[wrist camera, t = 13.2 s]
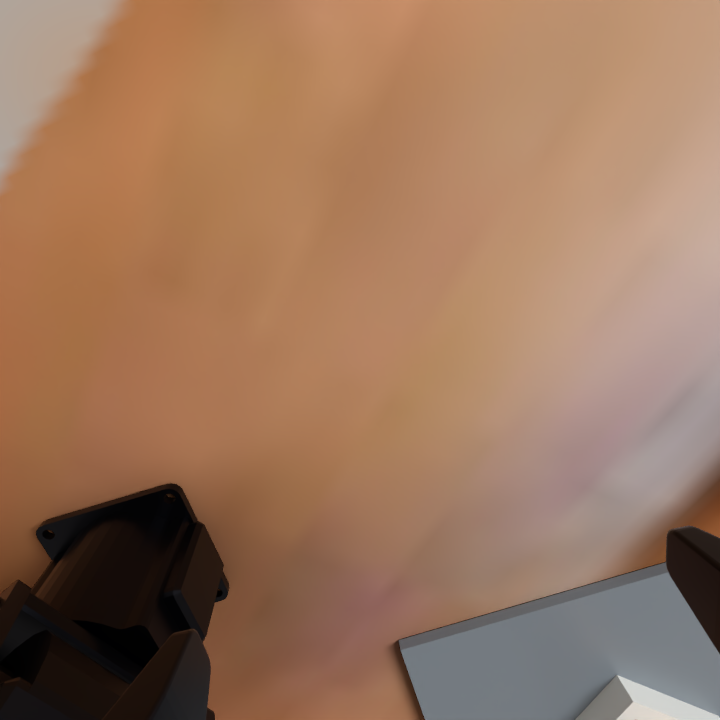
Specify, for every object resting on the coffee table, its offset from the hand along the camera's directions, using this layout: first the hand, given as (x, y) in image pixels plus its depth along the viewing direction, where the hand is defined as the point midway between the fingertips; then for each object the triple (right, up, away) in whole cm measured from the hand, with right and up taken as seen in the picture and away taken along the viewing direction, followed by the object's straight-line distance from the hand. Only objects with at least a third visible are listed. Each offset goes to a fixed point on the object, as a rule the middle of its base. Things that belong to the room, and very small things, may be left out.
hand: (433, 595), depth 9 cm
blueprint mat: (+13, -16, +19) cm, 28 cm away
